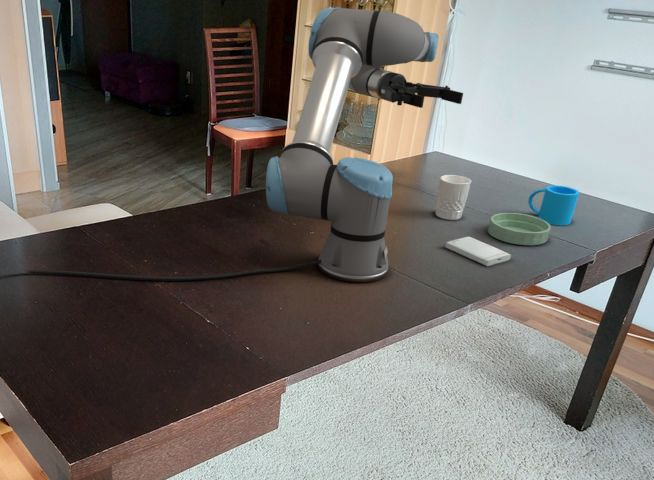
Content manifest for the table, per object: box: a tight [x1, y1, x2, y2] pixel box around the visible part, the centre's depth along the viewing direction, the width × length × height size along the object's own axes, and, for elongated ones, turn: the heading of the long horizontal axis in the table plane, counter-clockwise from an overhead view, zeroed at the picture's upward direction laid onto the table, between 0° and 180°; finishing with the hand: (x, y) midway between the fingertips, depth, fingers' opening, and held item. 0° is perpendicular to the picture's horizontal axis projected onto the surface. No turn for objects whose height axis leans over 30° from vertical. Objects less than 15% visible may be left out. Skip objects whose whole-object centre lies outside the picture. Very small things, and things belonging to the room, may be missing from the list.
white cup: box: [434, 174, 472, 221], centre depth 179 cm, size 8×8×10 cm
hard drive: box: [445, 236, 512, 267], centre depth 159 cm, size 2×8×12 cm
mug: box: [528, 184, 581, 226], centre depth 181 cm, size 12×8×8 cm
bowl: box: [487, 212, 552, 246], centre depth 170 cm, size 14×14×4 cm
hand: (442, 100), depth 175 cm, fingers open, 13 cm apart
